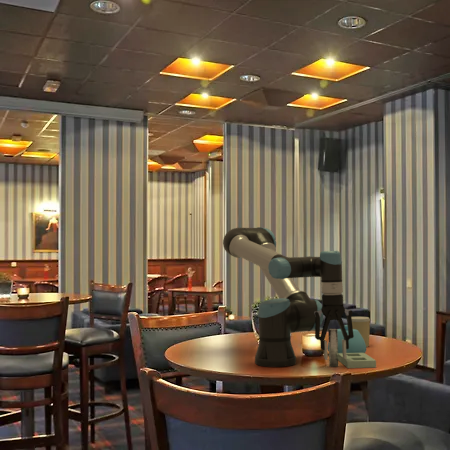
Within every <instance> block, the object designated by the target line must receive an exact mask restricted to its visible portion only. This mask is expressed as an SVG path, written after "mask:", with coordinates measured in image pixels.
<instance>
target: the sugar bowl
mask: <svg viewBox="0 0 450 450" xmlns="http://www.w3.org/2000/svg"><path fill="white" fill-rule="evenodd" d="M344 327H345V329H346V332H347V335H349V334H348V325H347V324H344ZM337 334H338V353H343V351H342V339H344V337H343V334H342V331H341V329H340V328H337ZM353 335H354V337H353V338H351V339H349V349H346V353H365V354H366V352H367V347H366V344H365V341H364V339H363V337H362V336H361V334H360V333H359V331H358V330H356V329H353ZM327 352H329V341H328V342H327Z"/></svg>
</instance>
